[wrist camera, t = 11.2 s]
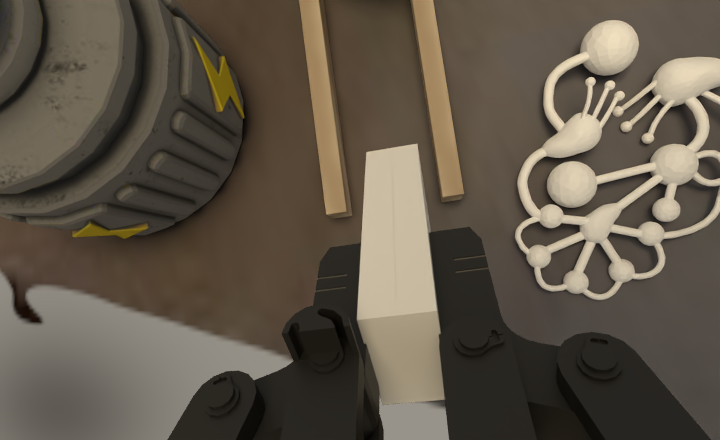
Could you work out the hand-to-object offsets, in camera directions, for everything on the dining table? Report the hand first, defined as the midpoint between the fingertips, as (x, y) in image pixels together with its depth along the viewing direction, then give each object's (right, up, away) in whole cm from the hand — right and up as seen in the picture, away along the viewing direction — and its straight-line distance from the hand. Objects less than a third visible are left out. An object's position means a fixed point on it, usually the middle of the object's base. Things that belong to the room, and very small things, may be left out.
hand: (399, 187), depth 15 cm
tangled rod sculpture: (+18, +3, +22) cm, 29 cm away
